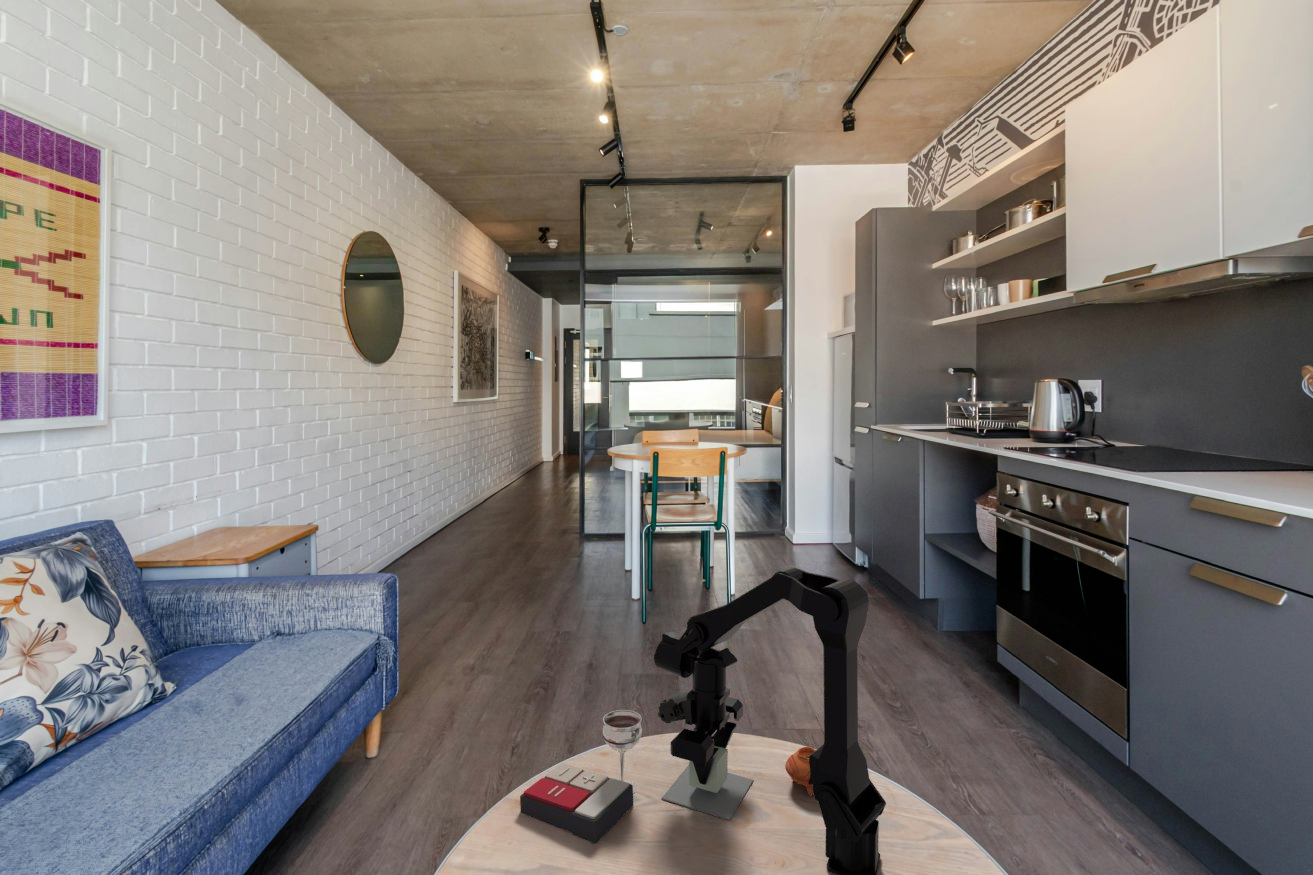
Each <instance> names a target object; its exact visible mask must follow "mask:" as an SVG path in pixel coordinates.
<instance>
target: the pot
mask: <svg viewBox="0 0 1313 875" xmlns="http://www.w3.org/2000/svg"><path fill="white" fill-rule="evenodd" d="M816 750H817V749H815V748H814V747H810V746H803V747H800V748H798V749H797V751H796V752H794V753H792V754H791V755H790V756H789V757H788V759H787V760H786V761H785V765H784V767H785V770H786V773H787V774H788V776H789V777H790V778H791V780H792V781H793V782H794V783H797V784H798V785H801V786H804V787H806V790H807V793H808V796H809V797H812V796H813V789H812V786H813V784H811V785H809V784H808V782H809V779H810V765H809V756H810V755H811V754H812V753H813V752H815V751H816Z"/></svg>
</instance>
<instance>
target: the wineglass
mask: <svg viewBox="0 0 1313 875" xmlns="http://www.w3.org/2000/svg"><path fill="white" fill-rule="evenodd" d="M602 722H603V726H602V738H603V740H604V742H605V744H606V745H607V746H608V747H609V748H611V749H612V750H613V751H617V753H619V762H620V763H619V764H620V779H619V780H620V781H623V782H627V783H629V784H632V785H633V794H634V793H635V792H636V791H637V785H636V783H635V782H633V781H632V780H628V779H624V775H625V773H624V772H625V771H624V770H625V753H626V752H627V751H629V750H632V749H633V748H634V747H635V746H636V745H637V744H638V743H640V740H641V737H642V735H643V734H642V733H643V729H642V724H641V723H642V716H641V715H640V713H638V712H637V711H633V710H630V709H618V710H617V709H616V710H612V711H610V712H608V713H606V714H605V715H603V718H602Z"/></svg>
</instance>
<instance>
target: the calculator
mask: <svg viewBox="0 0 1313 875" xmlns="http://www.w3.org/2000/svg"><path fill="white" fill-rule="evenodd" d="M563 763H564V764H563ZM620 780H621V779H616V778H611V777H609V776H608V775H606V774H603V773H599V772H596V771H592V770H589V769H586V770H584V768H582V767H580V766H575V765H571V764H568V763H565V762H561V763H559V765H557V766H556V767H554V768H553V769H551V770H550V771H549V772H548V773H547V774H545V776H544V777H541V778H540V779H539V780H537V781H536V782H534V783H533V784H532V785H531V786H529V787H528V788H526V789H525V790H524V791H523V793H522V794H521V795H520V796H519V797H520V799H519V801H520V805H519V806H520V813H521V814H523V815H525V816H528V817H530V818H532V819H535V820H537V821H539V822H542V823H544V824H546V825H549V826H552V827H555V828H557V829H561V830H564V831H566V832H569V833H571V834H572V835H573V836H574V837H577V838H579V839H582V840H584V841H586V842H589V843H591V844H597V843H599V842H600V841H601V839H602V838H603V837H604V836H605V835H606V834H608V833H609V831H610V830H612V828H613V827H614V826H615V825H616V824H617V823H619V822H620V820H621V819H623V817H624V816H625V815H626V814H627V813H628V812H629V811H630V810H631V809H632V808H633V807H634V793H633V785H632V784H629V783H627V782H623V781H620Z"/></svg>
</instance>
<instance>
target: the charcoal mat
mask: <svg viewBox="0 0 1313 875" xmlns="http://www.w3.org/2000/svg"><path fill="white" fill-rule="evenodd" d="M753 782H754V779H753V778H748V777H745V776H741V775H737V774H734V773H731V772H728V773H727V779H726V781H725V782H724V784H723V785H722V787H721V788H720V790H719V791H718V793H714V792H711V791H707V790H704V789H701V788H697V787H694V786H690V785H689V764H688V765H687V766H686V767H685V768H684V769H683V771H682V773H680V774H679V776H678V777H677V778H676V780H675V781H674V782H673V783H672V784H671V786H670V787H669V789H667V791H666V792H665V793H664V794H663V795H662V797H661V800H664V801H666V802H668V803H672V804H676V805H679V806H682V807H685V808H688V809H692V810H695V811H698V812H702V813H704V814H707V815H711V816H715V817H717V818H721V819H724V820H727V821H731V819H732V818H733V815H734V814H735V813H736V810H738V807H739V806H740V804H741V802H742V800H743V799H744V798H745V795H746V794H747V792H748V791H749V789H750V788H751V785H752V784H753Z"/></svg>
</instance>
